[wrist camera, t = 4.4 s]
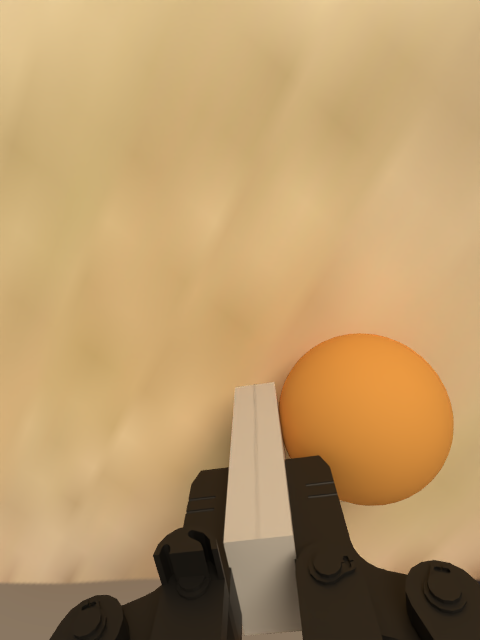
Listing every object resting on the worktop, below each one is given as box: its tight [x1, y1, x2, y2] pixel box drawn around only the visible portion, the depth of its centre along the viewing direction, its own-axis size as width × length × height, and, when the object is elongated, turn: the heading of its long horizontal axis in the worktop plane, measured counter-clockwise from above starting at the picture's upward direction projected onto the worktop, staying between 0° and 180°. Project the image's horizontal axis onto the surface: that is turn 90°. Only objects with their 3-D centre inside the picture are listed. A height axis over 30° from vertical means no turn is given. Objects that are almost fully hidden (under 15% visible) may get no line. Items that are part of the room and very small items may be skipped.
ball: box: [279, 334, 453, 506], centre depth 14 cm, size 6×6×6 cm
